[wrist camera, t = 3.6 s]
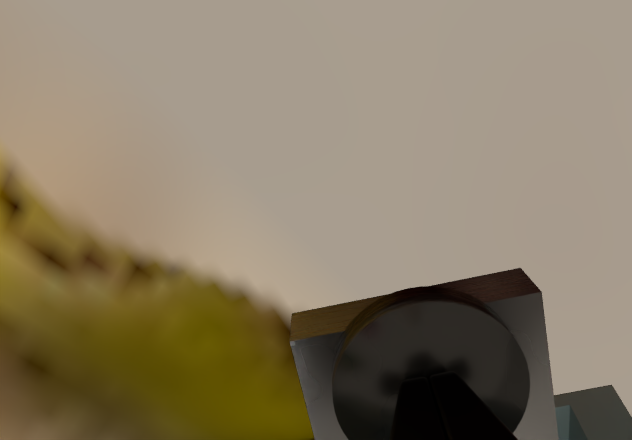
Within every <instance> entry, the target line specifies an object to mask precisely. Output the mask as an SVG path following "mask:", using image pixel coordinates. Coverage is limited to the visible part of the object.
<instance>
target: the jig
mask: <svg viewBox="0 0 632 440" xmlns="http://www.w3.org/2000/svg"><path fill="white" fill-rule="evenodd" d="M554 403H555V412H556V420H557V429H558V438H559V440H632V417H631V416H630V414H629V412H628V411H627V409H626V407H625V406H624V404H623V403H622V401H621V399H620V398H619V396H618V394H617V393H616V391H615V390H614V388H613V386H612V385H608V386H603V387H597V388H592V389H586V390H581V391H576V392H571V393H565V394H560V395H554Z"/></svg>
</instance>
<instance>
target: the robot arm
mask: <svg viewBox="0 0 632 440" xmlns="http://www.w3.org/2000/svg"><path fill="white" fill-rule="evenodd" d="M428 380H429V381H428ZM389 440H518V439H517V438H516V437H515V436H514V434H513V433H512V432H511V431H510V430H509V429H508V428H507V427H506V426H505V425H504V424H503V423H502V421H501V420H500V419H499V418H498V417H497V416H496V415H495V414H494V413H493V412H492V411H491V410H490V408H489V407H488V406H487V405H486V404H485V403H484V402H483V401H482V400H481V399H480V398H479V396H478V395H477V394H476V393H475V392H474V391H473V390H472V389H471V388H470V387H469V386H468V385H467V383H466V382H465V381H464V380H463V379H462V378H461V377H460V376H459V375H458V374H457V373H455V372H453V371H449V372H444V373H439V374H433V375H431V376H430V377H429V379H427V378H426V377H418V378H412V379H407V380H403V381H402V382H401V384H400V386H399V391H398V396H397V401H396V407H395V412H394V417H393V422H392V427H391V432H390V437H389Z"/></svg>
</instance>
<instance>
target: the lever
mask: <svg viewBox="0 0 632 440" xmlns="http://www.w3.org/2000/svg"><path fill="white" fill-rule="evenodd" d="M544 318H545V317H544V309H543V300H542V293H541V291H540V290H539V289H538V287H537V286H536V285H535V284H534V283H533V282H532V281H531V279H530V278H529V277H528V276H527V275H526V274H525V273H524V271H523V270H522V269H521V268H518V269H513V270H508V271H503V272H497V273H492V274H488V275H483V276H477V277H472V278H468V279H462V280H458V281H453V282H447V283H443V284H438V285H432V286H428V287H415V288H408V289H404V290H401V291H397V292H394V293H392V294H388V295H383V296H377V297H373V298H367V299H362V300H358V301H352V302H348V303H343V304H337V305H333V306H327V307H323V308H317V309H312V310H307V311H302V312H297V313H292V318H291V331H290V345H291V349H292V353H293V357H294V360H295V364H296V368H297V372H298V376H299V380H300V384H301V388H302V391H303V395H304V399H305V403H306V407H307V411H308V415H309V419H310V422H311V426H312V430H313V434H314V438H315V440H389V437H390V432H391V427H392V422H393V417H394V412H395V407H396V401H397V396H398V391H399V386H400V384H401V382H402V381H403V380H407V379H412V378H418V377H426V378H427V379H429V377H430V376H431V375H433V374H439V373H444V372H449V371H453V372H455V373H457V374H458V375H459V376H460V377H461V378H462V379H463V380H464V381H465V382H466V383H467V385H468V386H469V387H470V388H471V389H472V390H473V391H474V392H475V393H476V394H477V395H478V396H479V398H480V399H481V400H482V401H483V402H484V403H485V404H486V405H487V406H488V407H489V408H490V410H491V411H492V412H493V413H494V414H495V415H496V416H497V417H498V418H499V419H500V420H501V421H502V423H503V424H504V425H505V426H506V427H507V428H508V429H509V430H510V431H511V432H512V433H513V434H514V436H515V437H516V438H517V439H518V440H559V438H558V429H557V420H556V412H555V403H554V395H553V386H552V378H551V369H550V360H549V352H548V343H547V335H546V326H545V319H544ZM428 381H429V380H428Z"/></svg>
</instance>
